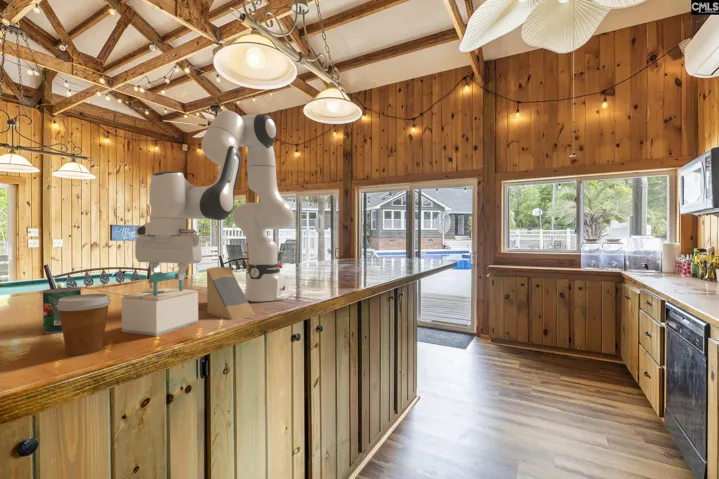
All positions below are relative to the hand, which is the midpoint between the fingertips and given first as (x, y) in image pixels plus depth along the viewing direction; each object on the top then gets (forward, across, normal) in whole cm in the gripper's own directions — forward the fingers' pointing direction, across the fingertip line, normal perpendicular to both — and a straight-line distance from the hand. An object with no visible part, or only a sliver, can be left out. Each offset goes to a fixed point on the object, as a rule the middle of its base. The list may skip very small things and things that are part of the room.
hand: (168, 279), depth 94 cm
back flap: (+4, +6, 0) cm, 7 cm away
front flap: (+5, -1, 0) cm, 5 cm away
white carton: (+14, +2, 0) cm, 14 cm away
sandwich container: (+14, -5, -19) cm, 24 cm away
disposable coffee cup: (+14, +2, +20) cm, 24 cm away
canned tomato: (+14, +26, +10) cm, 32 cm away
